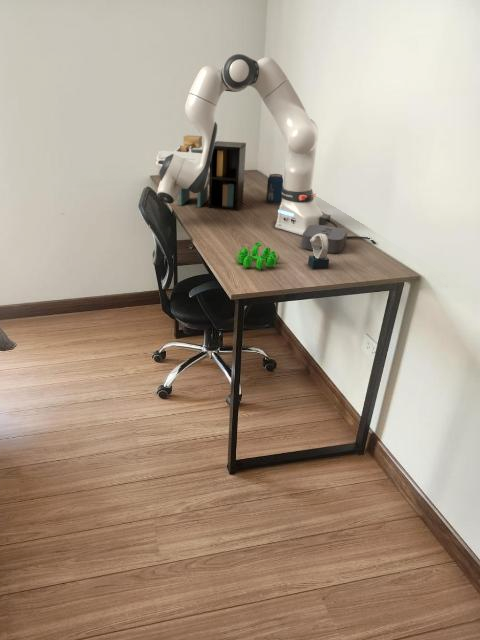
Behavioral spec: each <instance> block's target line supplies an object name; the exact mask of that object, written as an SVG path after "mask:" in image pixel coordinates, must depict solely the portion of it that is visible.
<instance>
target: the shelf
mask: <svg viewBox="0 0 480 640" xmlns="http://www.w3.org/2000/svg"><path fill="white" fill-rule="evenodd" d="M246 146H247V142H237V141H223V140H216V141H215V145H214V149H213V154H212V158H211V163H210V166H209V174H208V209H215V210H217V209H219V210H228V211H229V210H230V211H238V210H239V209H240V208H241V206H243V203H244V187H245V186H244V185H245V167H246V149H247V147H246Z"/></svg>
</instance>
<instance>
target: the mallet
mask: <svg viewBox="0 0 480 640" xmlns="http://www.w3.org/2000/svg"><path fill="white" fill-rule="evenodd" d="M181 146H182V147H181V152H188V151H187V147H188V146H191V147H192V149H200V148H203V136H202V135H194V134H193V135H191V134H186V135H184V136H183V145H181Z"/></svg>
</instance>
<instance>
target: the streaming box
mask: <svg viewBox="0 0 480 640" xmlns="http://www.w3.org/2000/svg"><path fill="white" fill-rule="evenodd" d="M320 233H322V234H326V235H327V238H328V252H327V253H331V254H339V253H341V252H342V250H343V249H344V247H345V245H346V244H347V239H348V238H347V236H348V229H346V228H345V227H344V228H343V227H338V228H337V227H335V226H328V225H325V226H321V225H310V226H309V227H308V228H307V229H306V230H305V231H304V233H303V235H302V238H301V248H302V249H305V250H309V251H313V247H312V242H310V239H311V238H312V237H313V236H314V235H316V234H320ZM321 250H322V246H321V247H320V251H321Z"/></svg>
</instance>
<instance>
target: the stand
mask: <svg viewBox="0 0 480 640" xmlns="http://www.w3.org/2000/svg"><path fill="white" fill-rule="evenodd" d="M202 152H203V149H199V148H193V149H192V153H202ZM190 193H191V191H189V190H187V189H186V188H184V187H182V188H181V190H180V193H179V195H178V206H179V207H180V206H183V205H185V204H186V203H187V202H188V201H189V200H190V199H191V196H190V195H191V194H190ZM206 202H209V181H208V182H207V185H206V187H205V188H204V190H203V191H201V192H199V193H197V205H196V206H197V208H201V207H202V206H203V205H204V204H206Z"/></svg>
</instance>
